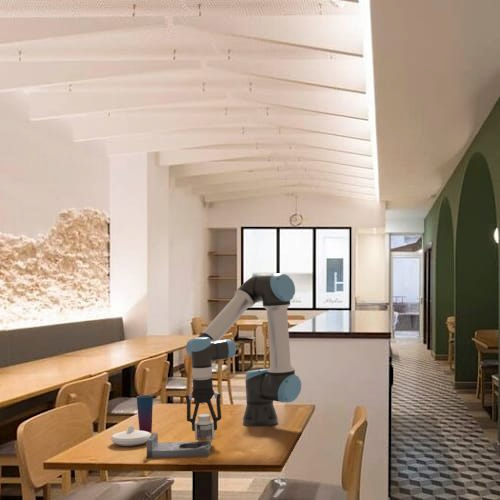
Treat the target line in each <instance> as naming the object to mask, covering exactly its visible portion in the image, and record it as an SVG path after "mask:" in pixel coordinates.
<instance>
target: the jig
mask: <svg viewBox="0 0 500 500" xmlns="http://www.w3.org/2000/svg"><path fill="white" fill-rule="evenodd" d="M150 434H151V436H150V437H149V438H148V440H147V441H146V442H145V444H146V459H165V458H169V459H170V458H172V457H173V458H201V457H203V458H204V457H205V458H206V457H209V455H210V453H211V449H212V441H202V442H198V441H176V442H173V441H171V442H159V437H158V436H159V435H158V432H156V433H152V432H151V433H150Z"/></svg>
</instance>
